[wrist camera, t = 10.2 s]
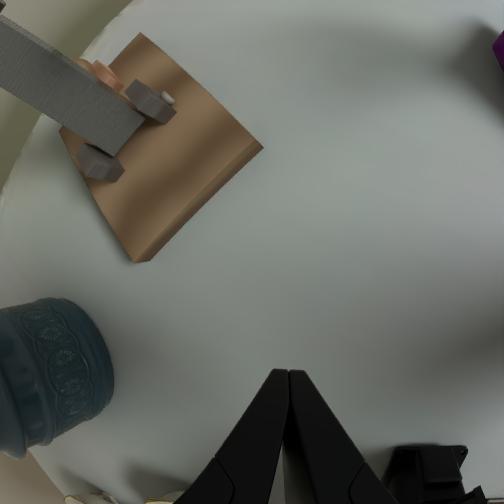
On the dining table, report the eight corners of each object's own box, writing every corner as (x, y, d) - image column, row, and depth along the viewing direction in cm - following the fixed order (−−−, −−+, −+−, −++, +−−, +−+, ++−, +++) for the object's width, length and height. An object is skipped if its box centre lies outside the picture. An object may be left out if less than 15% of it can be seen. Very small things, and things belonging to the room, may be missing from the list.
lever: (153, 110, 19) (-19, -6, 7) (107, 165, 21) (-60, 65, 9) (150, 102, 20) (-9, -6, 9) (106, 153, 22) (-48, 58, 10)
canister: (27, 316, 30) (-95, 343, 13) (82, 275, 26) (-93, 300, 10) (70, 417, 29) (-42, 473, 12) (139, 405, 25) (-12, 499, 8)
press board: (263, 147, 21) (222, 108, 14) (149, 260, 24) (81, 268, 17) (152, 41, 23) (104, 4, 16) (73, 135, 26) (17, 119, 19)
